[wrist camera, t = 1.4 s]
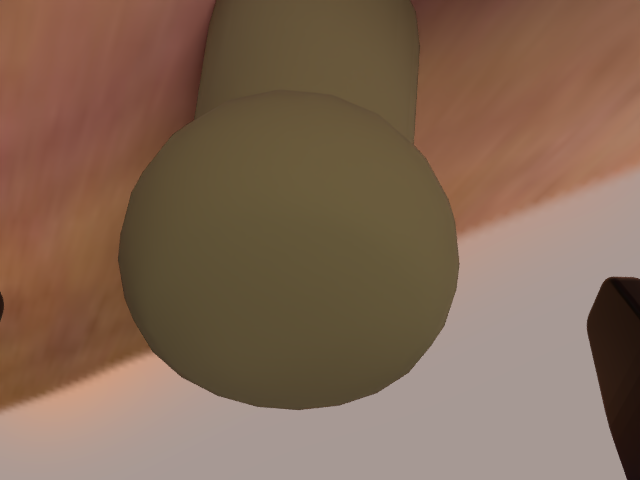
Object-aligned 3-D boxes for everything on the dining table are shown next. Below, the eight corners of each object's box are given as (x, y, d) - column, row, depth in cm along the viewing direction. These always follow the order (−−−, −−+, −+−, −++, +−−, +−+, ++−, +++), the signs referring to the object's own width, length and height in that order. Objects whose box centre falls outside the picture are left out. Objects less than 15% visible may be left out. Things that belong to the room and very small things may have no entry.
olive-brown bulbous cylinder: (381, 164, 19) (415, 486, 10) (196, 120, 18) (59, 429, 9) (453, -30, 15) (606, 214, 6) (224, -96, 14) (39, 78, 5)
